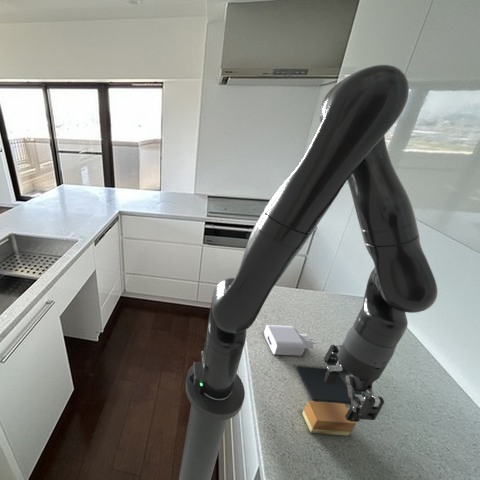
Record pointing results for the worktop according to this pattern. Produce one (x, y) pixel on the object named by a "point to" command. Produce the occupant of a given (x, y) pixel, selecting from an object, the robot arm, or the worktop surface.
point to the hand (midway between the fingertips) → (338, 399)
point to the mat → (324, 386)
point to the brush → (327, 418)
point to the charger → (287, 340)
